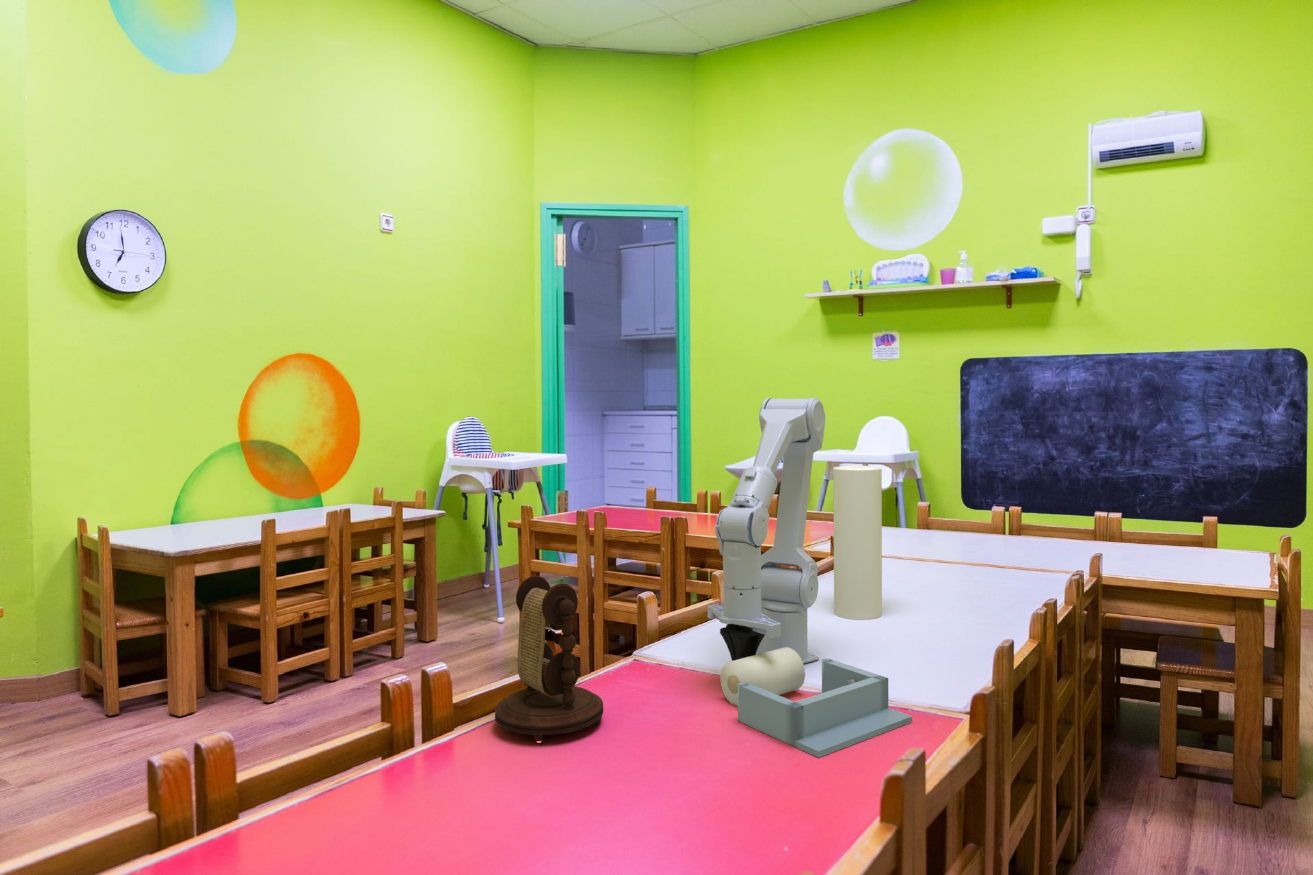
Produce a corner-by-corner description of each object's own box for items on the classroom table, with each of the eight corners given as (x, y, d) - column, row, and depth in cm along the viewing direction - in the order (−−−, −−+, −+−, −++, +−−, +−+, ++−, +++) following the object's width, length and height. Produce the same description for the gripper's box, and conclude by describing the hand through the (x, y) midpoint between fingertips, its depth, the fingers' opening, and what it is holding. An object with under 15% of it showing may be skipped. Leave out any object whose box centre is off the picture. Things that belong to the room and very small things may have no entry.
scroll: (475, 722, 117) (471, 579, 116) (564, 696, 126) (561, 564, 125) (532, 756, 105) (528, 598, 104) (625, 725, 115) (622, 580, 114)
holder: (735, 719, 116) (735, 683, 116) (827, 690, 127) (826, 657, 127) (818, 757, 104) (818, 717, 103) (912, 721, 114) (912, 685, 114)
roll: (740, 716, 120) (753, 682, 118) (714, 686, 125) (726, 652, 122) (798, 698, 127) (811, 666, 125) (771, 670, 132) (784, 638, 129)
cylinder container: (883, 620, 165) (883, 467, 163) (834, 618, 167) (833, 467, 165) (880, 608, 174) (880, 463, 173) (833, 606, 176) (833, 463, 175)
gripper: (691, 581, 131) (693, 667, 132) (755, 598, 119) (755, 692, 120) (726, 574, 135) (727, 658, 136) (790, 591, 123) (791, 682, 124)
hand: (743, 673), depth 128 cm, fingers closed
